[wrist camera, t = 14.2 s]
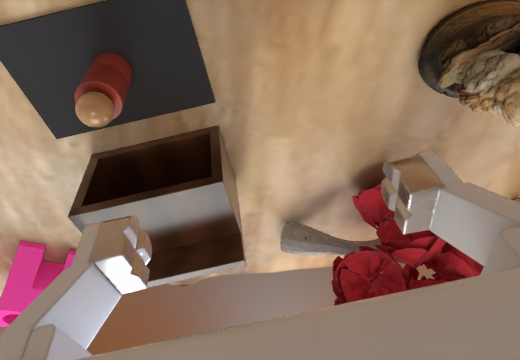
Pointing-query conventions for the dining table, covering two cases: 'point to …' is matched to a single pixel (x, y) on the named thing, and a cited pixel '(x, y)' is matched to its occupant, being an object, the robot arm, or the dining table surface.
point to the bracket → (28, 279)
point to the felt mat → (103, 41)
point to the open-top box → (170, 202)
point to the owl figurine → (477, 58)
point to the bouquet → (380, 254)
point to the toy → (103, 90)
